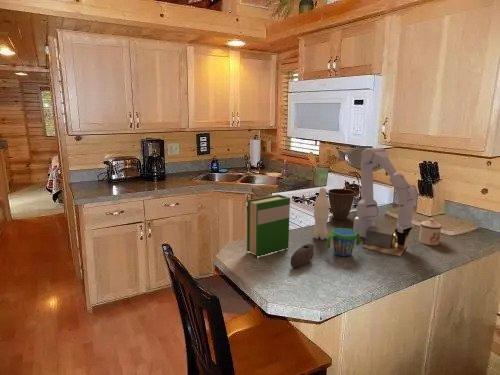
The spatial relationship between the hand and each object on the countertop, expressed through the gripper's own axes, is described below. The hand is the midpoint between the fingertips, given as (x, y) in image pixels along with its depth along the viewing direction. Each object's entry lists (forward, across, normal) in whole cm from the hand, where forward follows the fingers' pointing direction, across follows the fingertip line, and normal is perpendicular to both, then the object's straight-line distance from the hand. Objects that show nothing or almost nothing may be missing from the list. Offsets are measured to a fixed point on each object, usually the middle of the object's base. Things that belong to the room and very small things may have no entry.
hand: (402, 243), depth 154 cm
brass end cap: (+2, 0, +6) cm, 7 cm away
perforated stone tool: (+4, -39, +30) cm, 49 cm away
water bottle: (+4, -7, +36) cm, 37 cm away
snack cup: (+4, -19, +20) cm, 28 cm away
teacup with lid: (+4, +20, -9) cm, 22 cm away
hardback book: (+4, -36, +48) cm, 60 cm away
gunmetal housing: (+3, 0, +9) cm, 10 cm away
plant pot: (+4, +30, +40) cm, 50 cm away
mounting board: (+3, 0, +7) cm, 8 cm away
